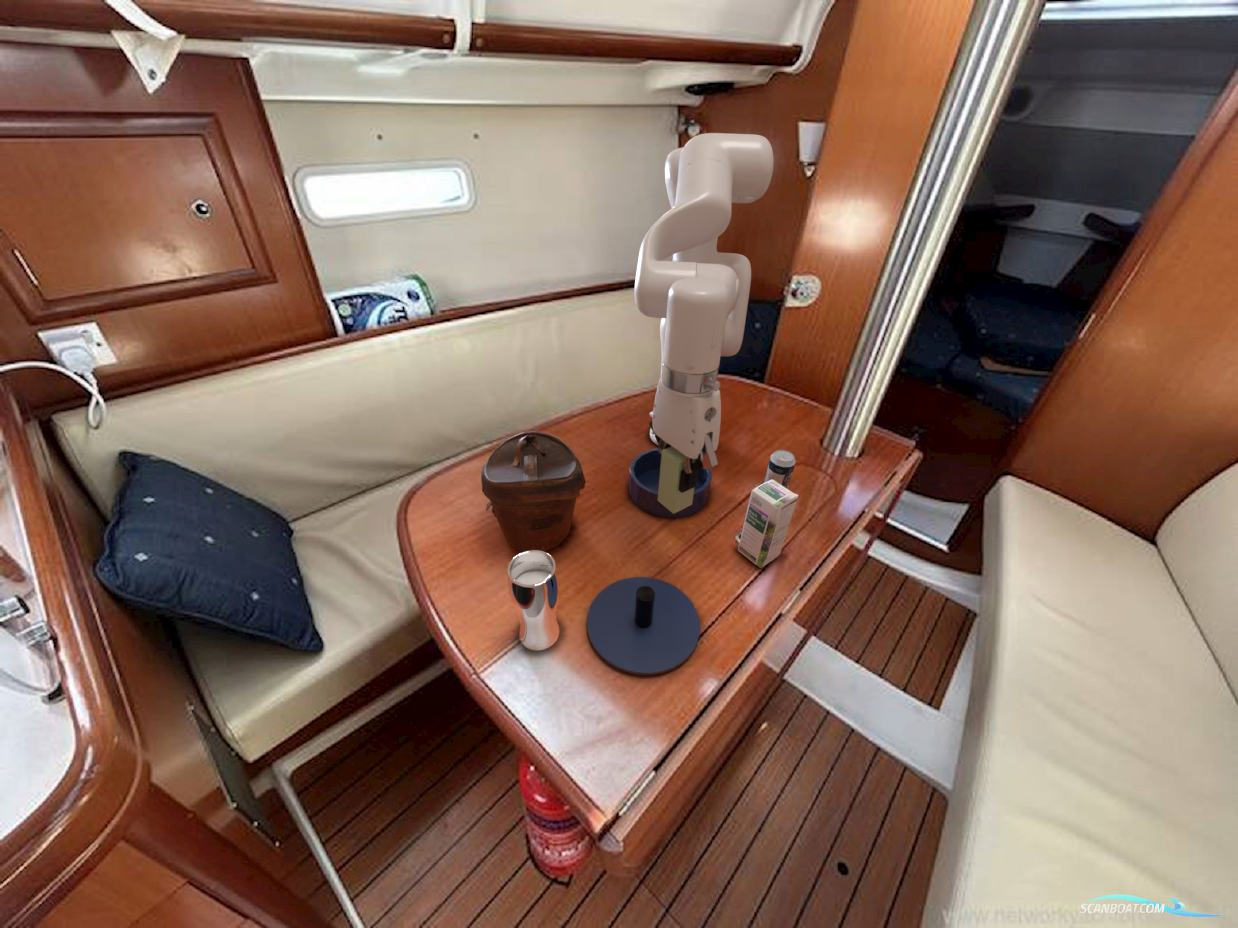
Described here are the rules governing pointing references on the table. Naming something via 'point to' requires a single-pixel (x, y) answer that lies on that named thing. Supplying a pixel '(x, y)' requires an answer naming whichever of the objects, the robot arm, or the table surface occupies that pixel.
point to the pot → (647, 486)
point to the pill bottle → (781, 467)
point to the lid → (643, 625)
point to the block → (673, 481)
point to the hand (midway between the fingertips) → (677, 480)
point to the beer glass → (535, 597)
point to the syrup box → (766, 522)
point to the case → (533, 489)
